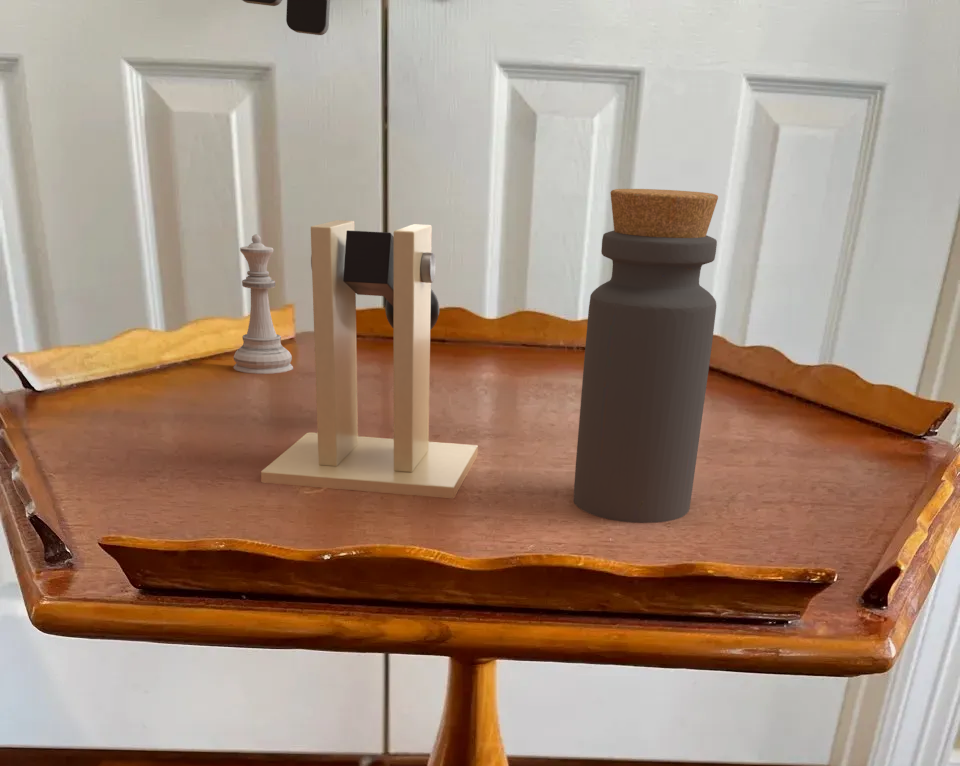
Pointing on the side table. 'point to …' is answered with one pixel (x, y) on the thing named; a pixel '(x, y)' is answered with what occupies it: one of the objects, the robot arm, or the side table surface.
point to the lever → (375, 269)
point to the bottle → (647, 359)
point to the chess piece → (260, 319)
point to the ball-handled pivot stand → (337, 446)
